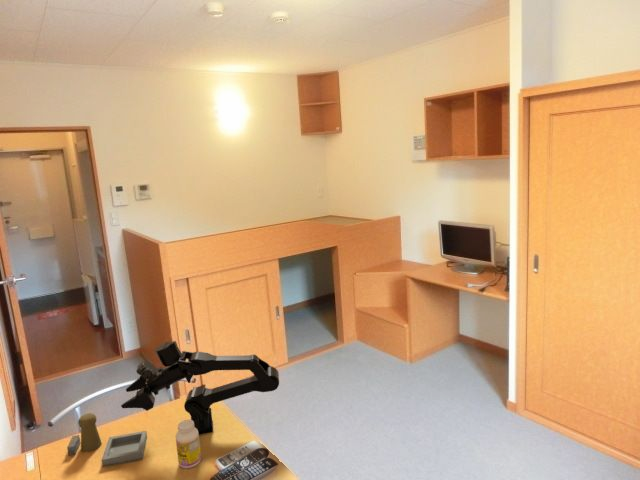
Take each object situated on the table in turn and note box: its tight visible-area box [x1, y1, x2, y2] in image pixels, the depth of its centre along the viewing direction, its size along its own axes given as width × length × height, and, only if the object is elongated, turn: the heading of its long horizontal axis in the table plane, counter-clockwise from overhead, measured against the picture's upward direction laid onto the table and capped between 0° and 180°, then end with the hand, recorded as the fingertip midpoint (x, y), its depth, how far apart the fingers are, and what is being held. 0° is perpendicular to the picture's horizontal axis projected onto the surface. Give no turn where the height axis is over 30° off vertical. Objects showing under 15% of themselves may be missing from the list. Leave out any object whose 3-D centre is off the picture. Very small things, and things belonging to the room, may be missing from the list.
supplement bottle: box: [175, 418, 202, 469], centre depth 134 cm, size 7×7×13 cm
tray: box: [101, 430, 148, 468], centre depth 141 cm, size 11×11×2 cm
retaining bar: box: [66, 434, 81, 457], centre depth 143 cm, size 2×6×3 cm, turn 14°
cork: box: [77, 412, 103, 453], centre depth 144 cm, size 6×6×11 cm
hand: (124, 398), depth 144 cm, fingers open, 9 cm apart
